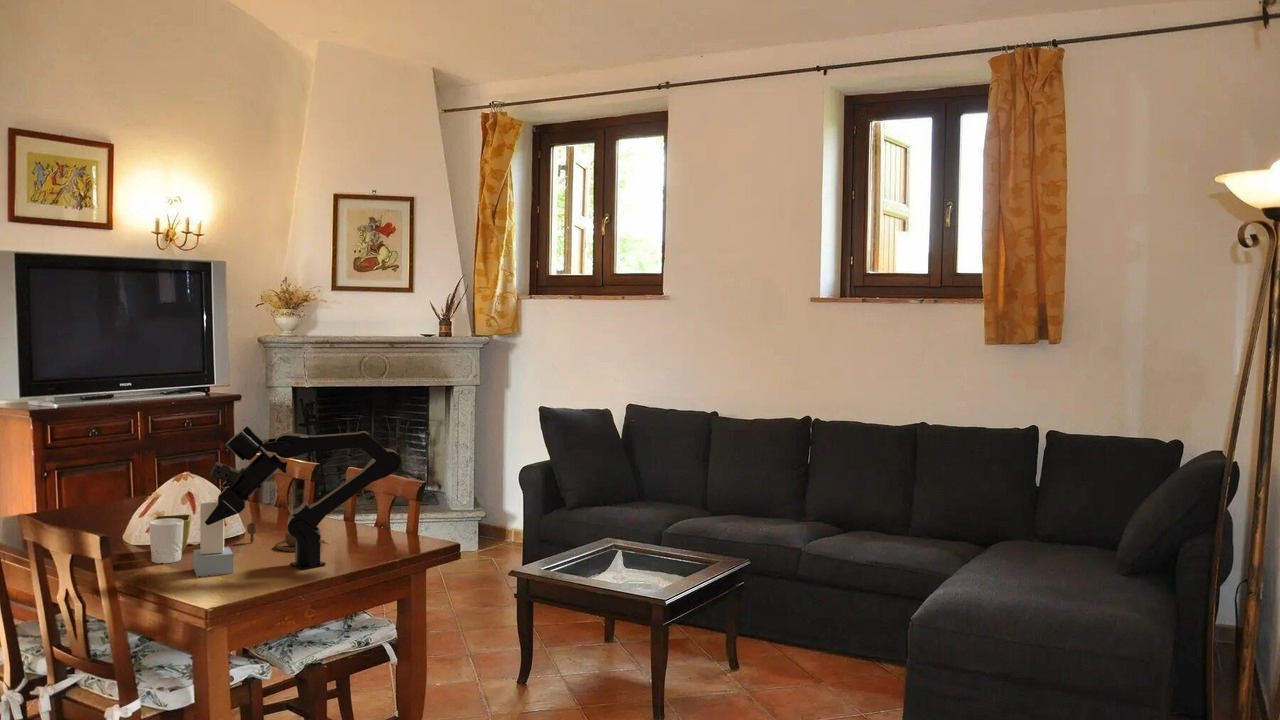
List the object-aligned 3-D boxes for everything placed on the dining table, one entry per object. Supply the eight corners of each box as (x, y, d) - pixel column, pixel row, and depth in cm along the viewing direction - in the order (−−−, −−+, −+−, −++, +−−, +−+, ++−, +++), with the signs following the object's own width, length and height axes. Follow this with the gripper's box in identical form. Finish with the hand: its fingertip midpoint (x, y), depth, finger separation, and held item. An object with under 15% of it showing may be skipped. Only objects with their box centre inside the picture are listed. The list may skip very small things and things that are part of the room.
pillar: (224, 549, 244) (224, 500, 244) (222, 552, 239) (222, 503, 239) (202, 550, 242) (202, 501, 242) (200, 554, 238) (200, 504, 238)
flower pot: (151, 557, 254) (151, 522, 253) (154, 549, 262) (154, 515, 261) (189, 554, 257) (189, 520, 256) (190, 547, 265) (191, 513, 265)
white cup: (142, 563, 247) (142, 524, 246) (159, 556, 254) (159, 517, 254) (173, 564, 246) (173, 525, 246) (189, 557, 254) (189, 518, 254)
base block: (228, 566, 247) (228, 546, 246) (233, 574, 240) (233, 553, 240) (193, 570, 243) (193, 550, 242) (197, 577, 236) (197, 557, 236)
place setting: (278, 558, 257) (278, 536, 257) (242, 545, 271) (242, 524, 271) (338, 548, 270) (339, 526, 270) (302, 536, 284) (302, 515, 284)
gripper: (233, 446, 250) (185, 491, 247) (229, 456, 233) (178, 505, 229) (266, 476, 253) (219, 521, 250) (265, 488, 236) (214, 536, 232)
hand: (207, 520), depth 240 cm, fingers open, 9 cm apart
